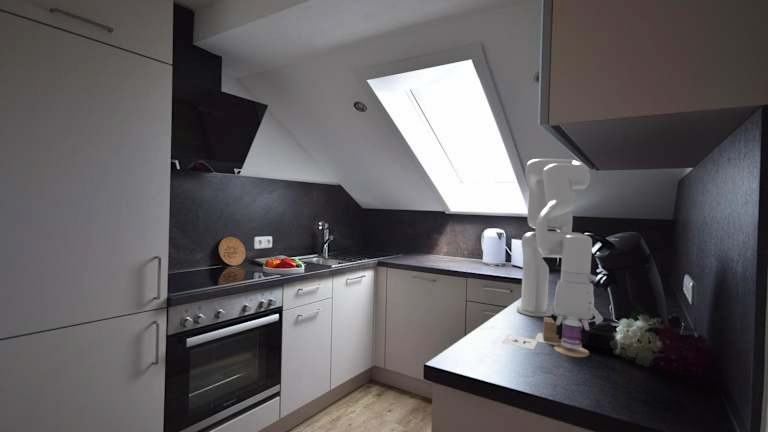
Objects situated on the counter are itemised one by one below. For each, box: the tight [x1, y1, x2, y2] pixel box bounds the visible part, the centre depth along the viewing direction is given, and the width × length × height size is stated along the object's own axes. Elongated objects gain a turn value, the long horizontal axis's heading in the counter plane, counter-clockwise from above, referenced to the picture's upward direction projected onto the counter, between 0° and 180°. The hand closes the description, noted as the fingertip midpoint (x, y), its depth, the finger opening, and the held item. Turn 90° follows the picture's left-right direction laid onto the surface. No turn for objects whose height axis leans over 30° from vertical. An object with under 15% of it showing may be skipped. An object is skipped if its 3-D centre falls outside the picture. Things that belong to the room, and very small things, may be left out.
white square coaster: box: [501, 334, 539, 350], centre depth 118 cm, size 9×9×1 cm
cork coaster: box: [553, 344, 590, 358], centre depth 112 cm, size 9×9×1 cm
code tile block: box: [534, 332, 562, 346], centre depth 121 cm, size 9×9×1 cm
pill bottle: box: [561, 316, 584, 349], centre depth 111 cm, size 5×5×10 cm
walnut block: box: [542, 316, 562, 343], centre depth 120 cm, size 5×5×6 cm
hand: (571, 339), depth 112 cm, fingers closed on pill bottle, 5 cm apart
